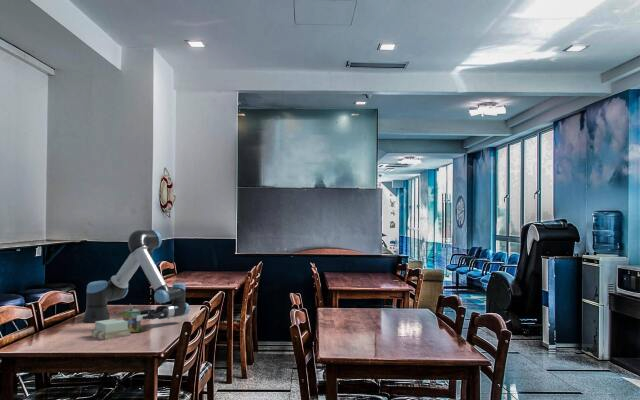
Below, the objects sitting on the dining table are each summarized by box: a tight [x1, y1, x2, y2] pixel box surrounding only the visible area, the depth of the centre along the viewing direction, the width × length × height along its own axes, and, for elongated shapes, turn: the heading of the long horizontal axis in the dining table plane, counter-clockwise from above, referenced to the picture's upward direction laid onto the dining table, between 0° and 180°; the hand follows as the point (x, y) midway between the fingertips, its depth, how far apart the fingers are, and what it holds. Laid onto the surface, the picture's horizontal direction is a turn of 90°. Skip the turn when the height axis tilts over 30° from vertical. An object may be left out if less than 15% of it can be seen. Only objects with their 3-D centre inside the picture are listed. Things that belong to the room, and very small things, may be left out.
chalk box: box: [122, 303, 142, 334], centre depth 292 cm, size 9×9×15 cm
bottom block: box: [91, 328, 131, 341], centre depth 280 cm, size 14×14×4 cm
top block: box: [94, 318, 128, 332], centre depth 280 cm, size 12×12×4 cm
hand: (130, 316), depth 291 cm, fingers closed on chalk box, 12 cm apart
